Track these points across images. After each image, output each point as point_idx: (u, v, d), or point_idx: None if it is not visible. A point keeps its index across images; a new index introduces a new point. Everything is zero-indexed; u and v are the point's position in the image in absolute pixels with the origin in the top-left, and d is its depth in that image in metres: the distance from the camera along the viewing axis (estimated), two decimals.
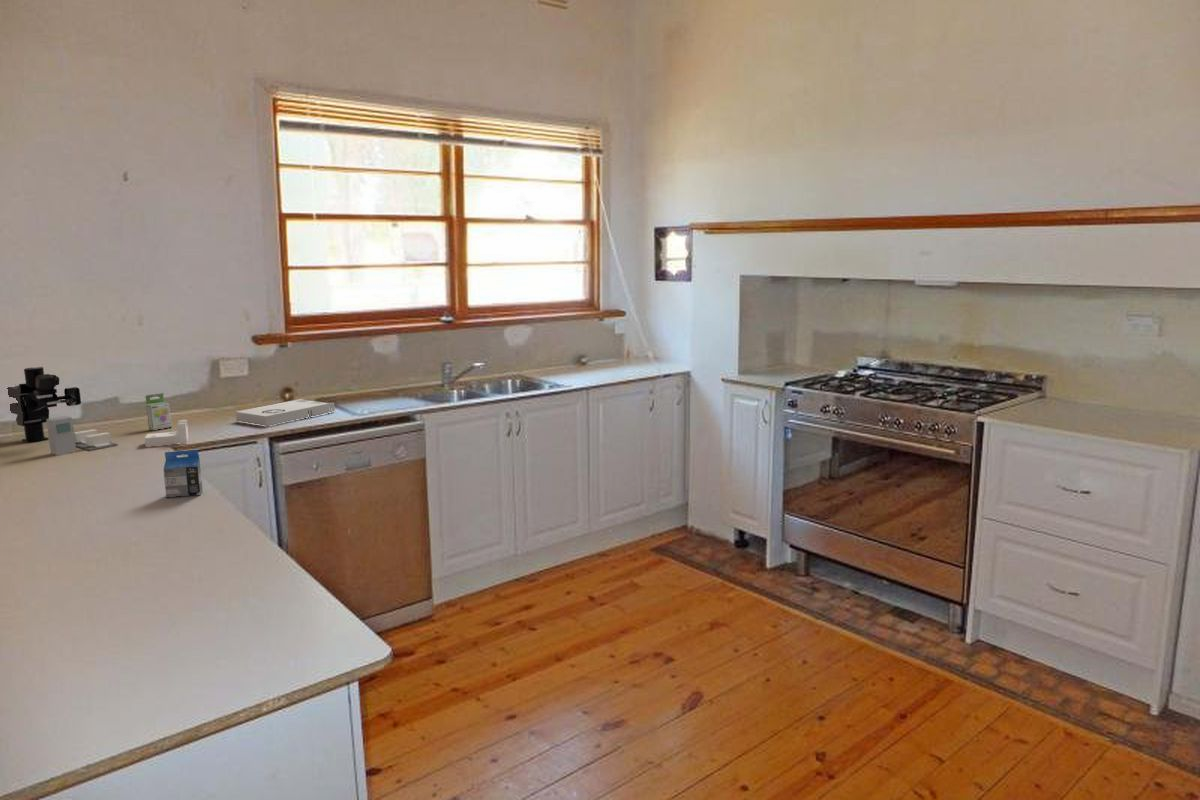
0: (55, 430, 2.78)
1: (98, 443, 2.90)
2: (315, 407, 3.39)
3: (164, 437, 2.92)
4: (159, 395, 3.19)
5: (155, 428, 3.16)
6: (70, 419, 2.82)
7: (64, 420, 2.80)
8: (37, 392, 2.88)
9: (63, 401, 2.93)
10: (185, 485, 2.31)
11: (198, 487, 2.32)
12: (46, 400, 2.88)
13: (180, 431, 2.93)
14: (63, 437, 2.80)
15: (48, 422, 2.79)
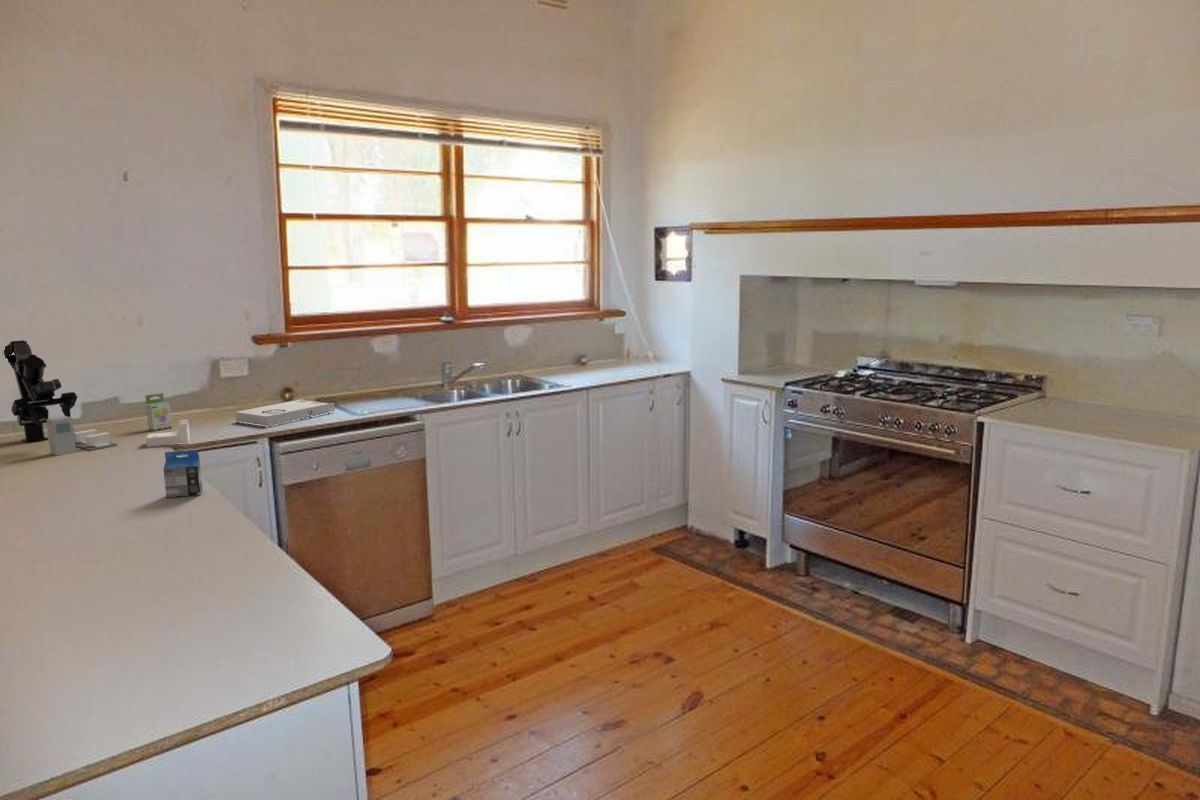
0: (55, 430, 2.78)
1: (98, 443, 2.90)
2: (315, 407, 3.39)
3: (165, 437, 2.92)
4: (159, 395, 3.19)
5: (155, 428, 3.16)
6: (70, 419, 2.82)
7: (64, 420, 2.80)
8: (35, 395, 2.82)
9: (57, 403, 2.90)
10: (185, 485, 2.31)
11: (198, 487, 2.32)
12: (41, 405, 2.84)
13: (181, 431, 2.93)
14: (63, 437, 2.80)
15: (48, 422, 2.79)
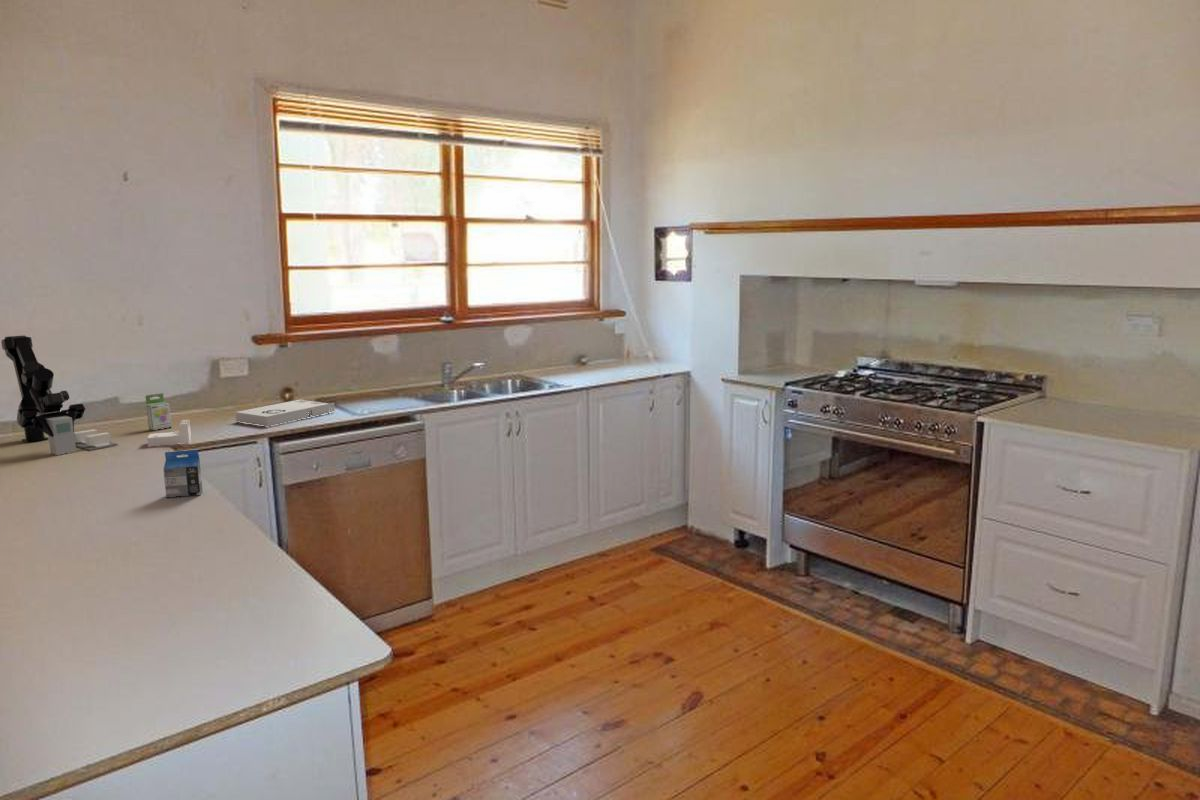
0: (55, 430, 2.78)
1: (98, 443, 2.90)
2: (315, 407, 3.38)
3: (166, 437, 2.92)
4: (159, 395, 3.19)
5: (155, 428, 3.16)
6: (70, 419, 2.82)
7: (64, 420, 2.80)
8: (43, 407, 2.80)
9: (60, 416, 2.86)
10: (185, 485, 2.31)
11: (198, 487, 2.32)
12: (49, 417, 2.82)
13: (182, 431, 2.93)
14: (63, 437, 2.80)
15: (48, 422, 2.79)
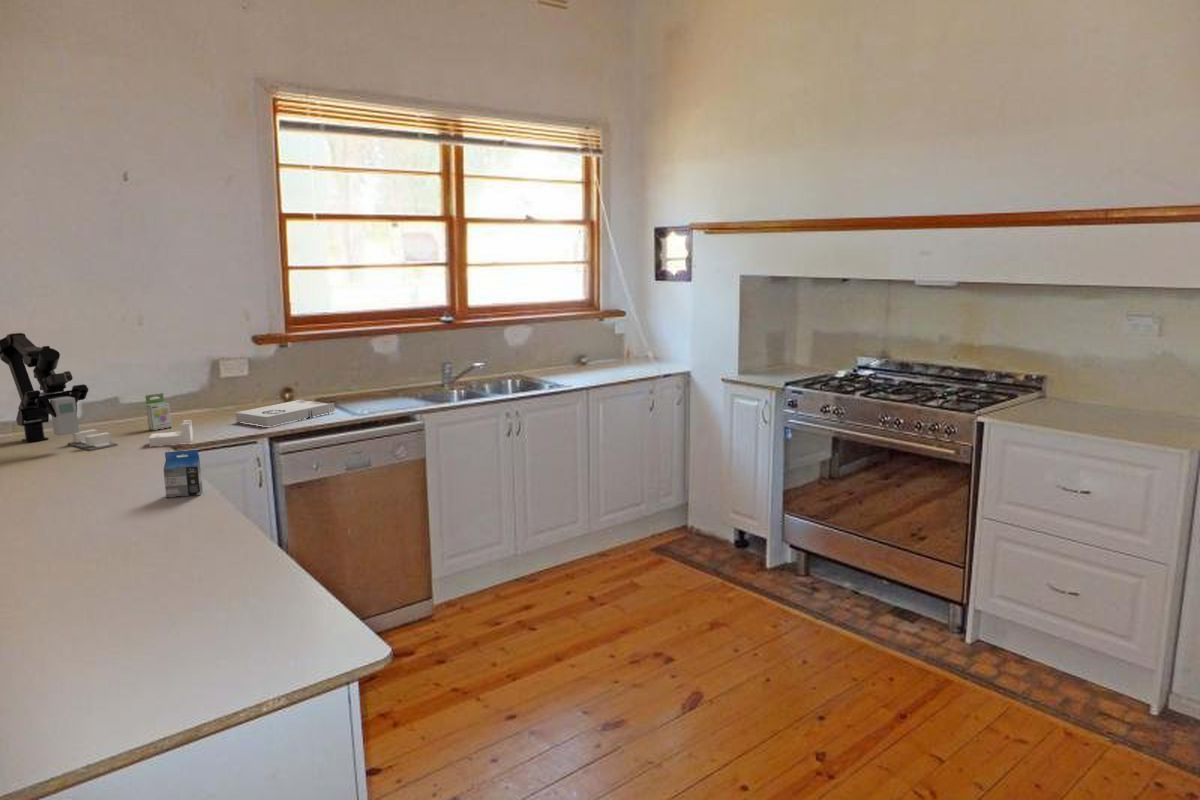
0: (58, 410, 2.79)
1: (98, 443, 2.90)
2: (315, 408, 3.38)
3: (168, 437, 2.92)
4: (159, 395, 3.19)
5: (155, 428, 3.16)
6: (73, 399, 2.83)
7: (67, 400, 2.81)
8: (46, 387, 2.81)
9: (64, 396, 2.87)
10: (185, 485, 2.31)
11: (198, 487, 2.32)
12: (52, 397, 2.83)
13: (183, 431, 2.93)
14: (66, 417, 2.81)
15: (51, 402, 2.80)
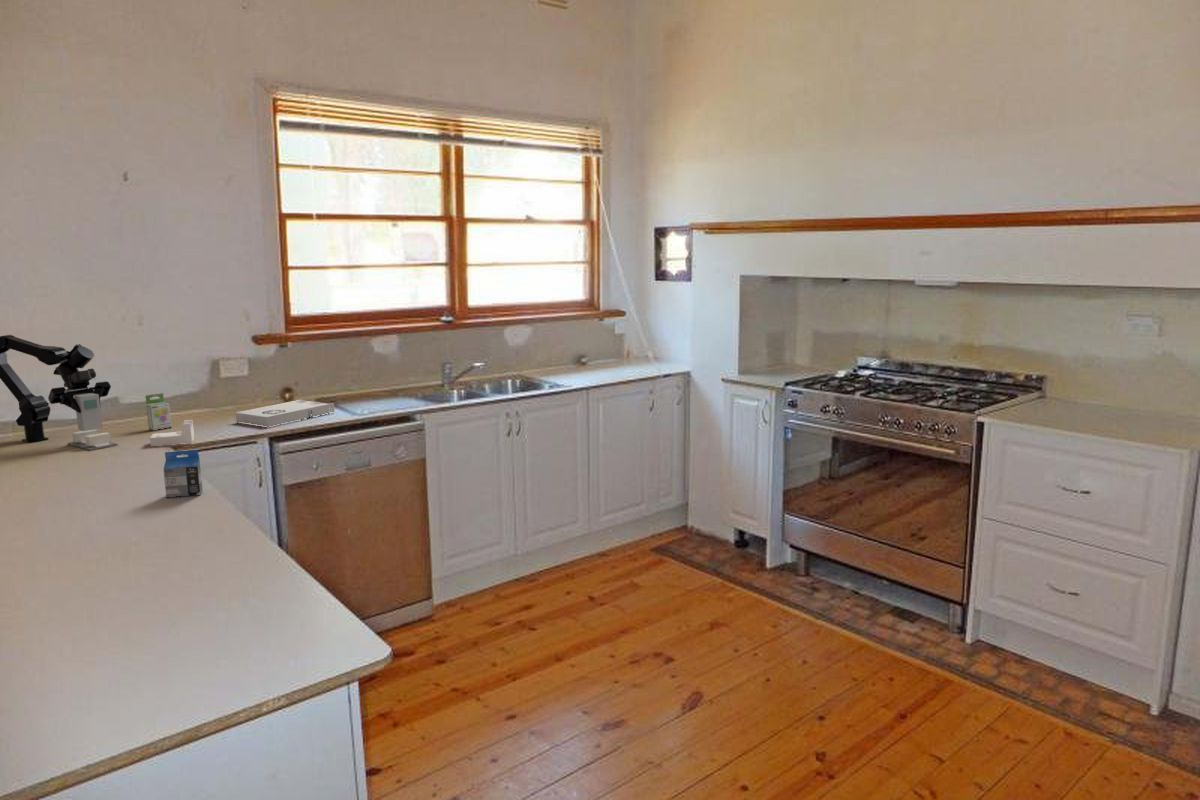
0: (83, 406, 2.88)
1: (98, 443, 2.90)
2: (315, 408, 3.38)
3: (169, 437, 2.92)
4: (159, 395, 3.19)
5: (155, 428, 3.16)
6: (97, 396, 2.92)
7: (91, 397, 2.90)
8: (71, 384, 2.90)
9: (87, 393, 2.96)
10: (185, 485, 2.31)
11: (198, 487, 2.32)
12: (76, 394, 2.92)
13: (184, 431, 2.93)
14: (90, 413, 2.90)
15: (76, 398, 2.89)
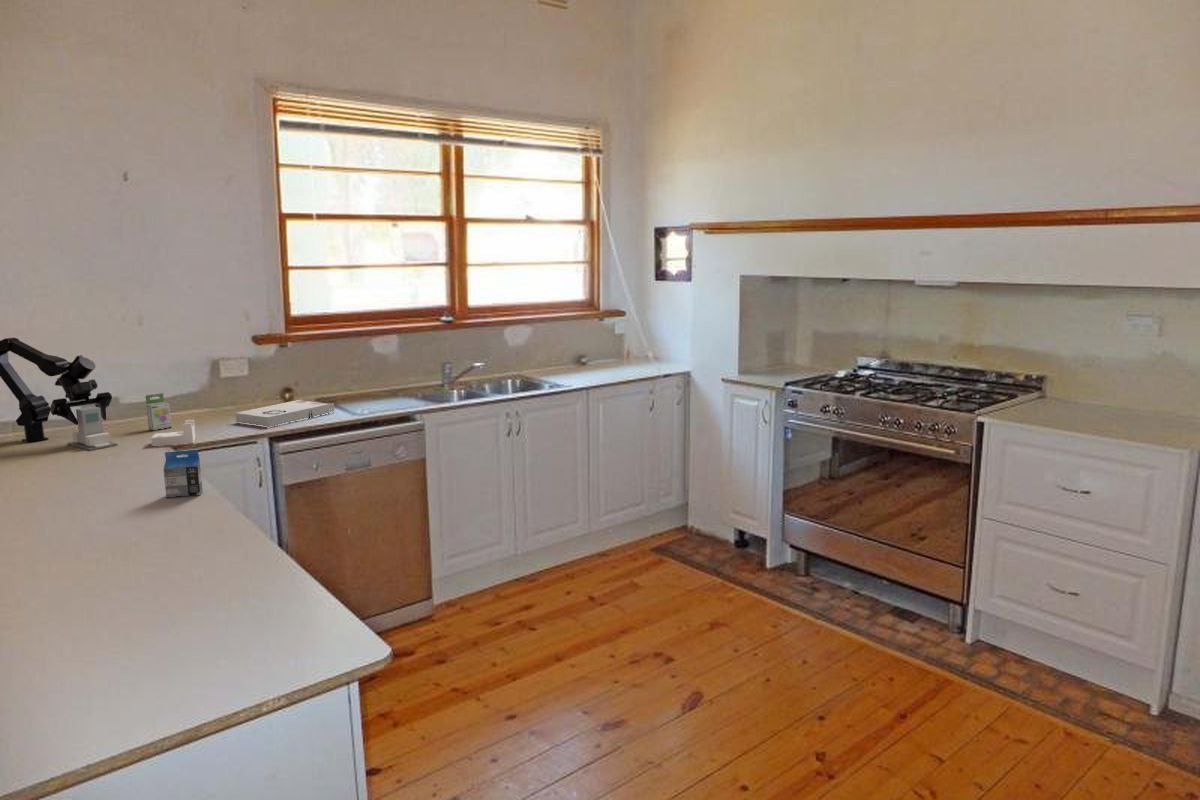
0: (84, 420, 2.89)
1: (98, 443, 2.90)
2: (315, 408, 3.38)
3: (170, 437, 2.92)
4: (159, 395, 3.19)
5: (155, 428, 3.16)
6: (98, 409, 2.93)
7: (93, 410, 2.91)
8: (72, 395, 2.91)
9: (93, 403, 2.98)
10: (185, 485, 2.31)
11: (198, 487, 2.32)
12: (78, 405, 2.93)
13: (186, 431, 2.93)
14: (91, 426, 2.91)
15: (78, 412, 2.90)
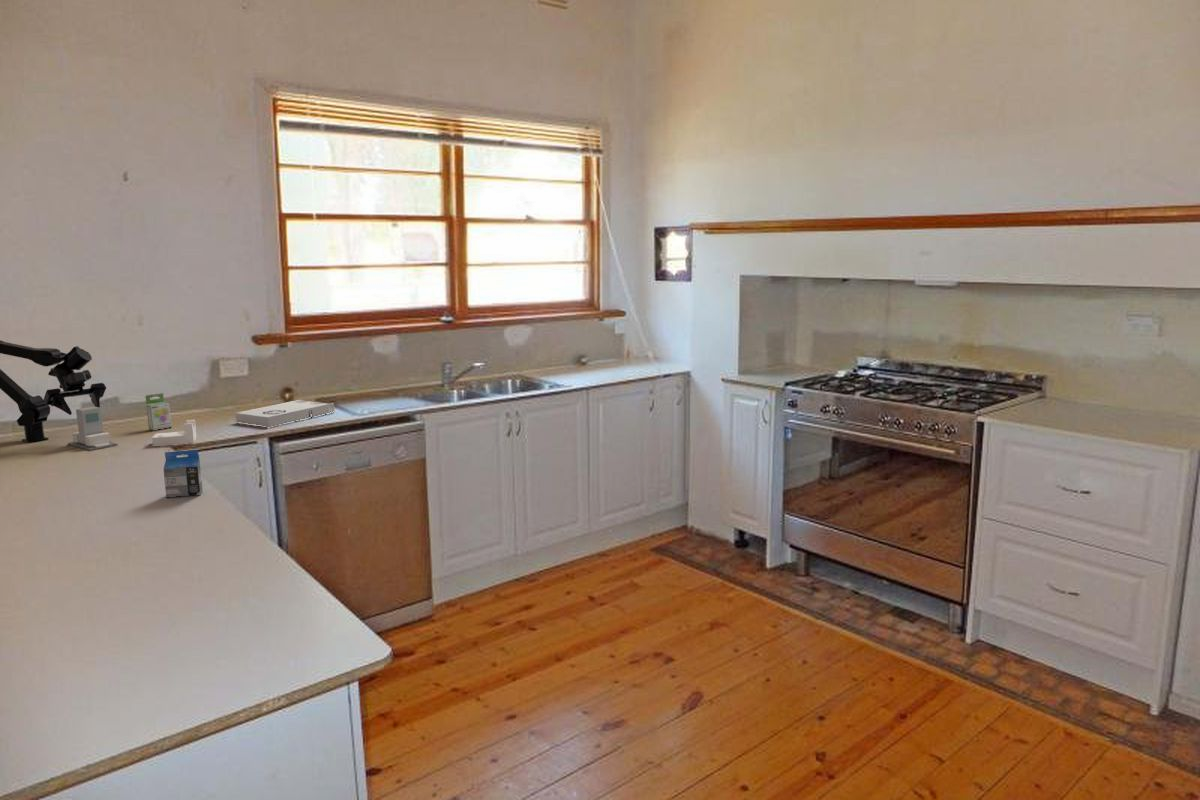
0: (84, 420, 2.89)
1: (98, 443, 2.90)
2: (315, 408, 3.38)
3: (171, 437, 2.92)
4: (159, 395, 3.19)
5: (155, 428, 3.16)
6: (98, 409, 2.93)
7: (93, 410, 2.91)
8: (66, 386, 2.92)
9: (87, 394, 3.00)
10: (185, 485, 2.31)
11: (198, 487, 2.32)
12: (72, 395, 2.94)
13: (186, 431, 2.93)
14: (91, 426, 2.91)
15: (78, 412, 2.90)
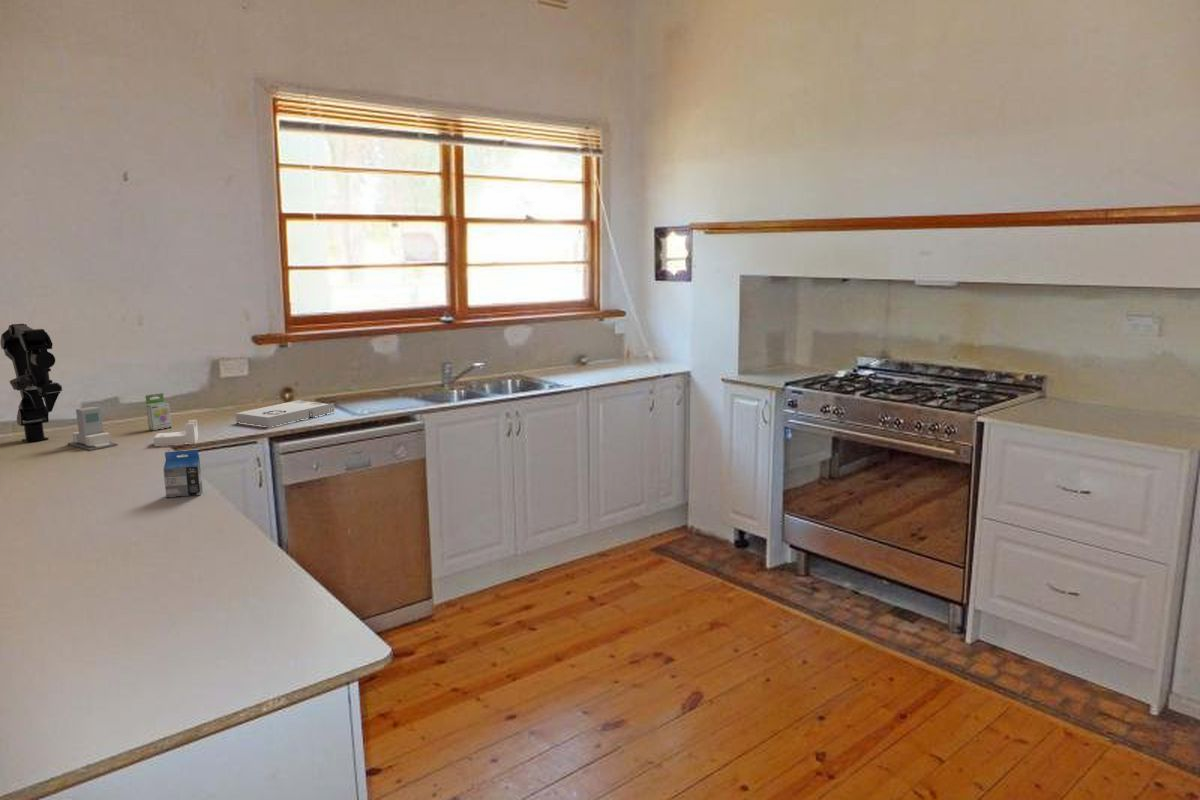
0: (84, 420, 2.89)
1: (98, 443, 2.90)
2: (316, 408, 3.37)
3: (172, 437, 2.92)
4: (159, 395, 3.19)
5: (155, 428, 3.16)
6: (98, 409, 2.93)
7: (93, 410, 2.91)
8: None
9: None
10: (185, 485, 2.31)
11: (198, 487, 2.32)
12: None
13: (188, 431, 2.93)
14: (91, 426, 2.91)
15: (78, 412, 2.90)
